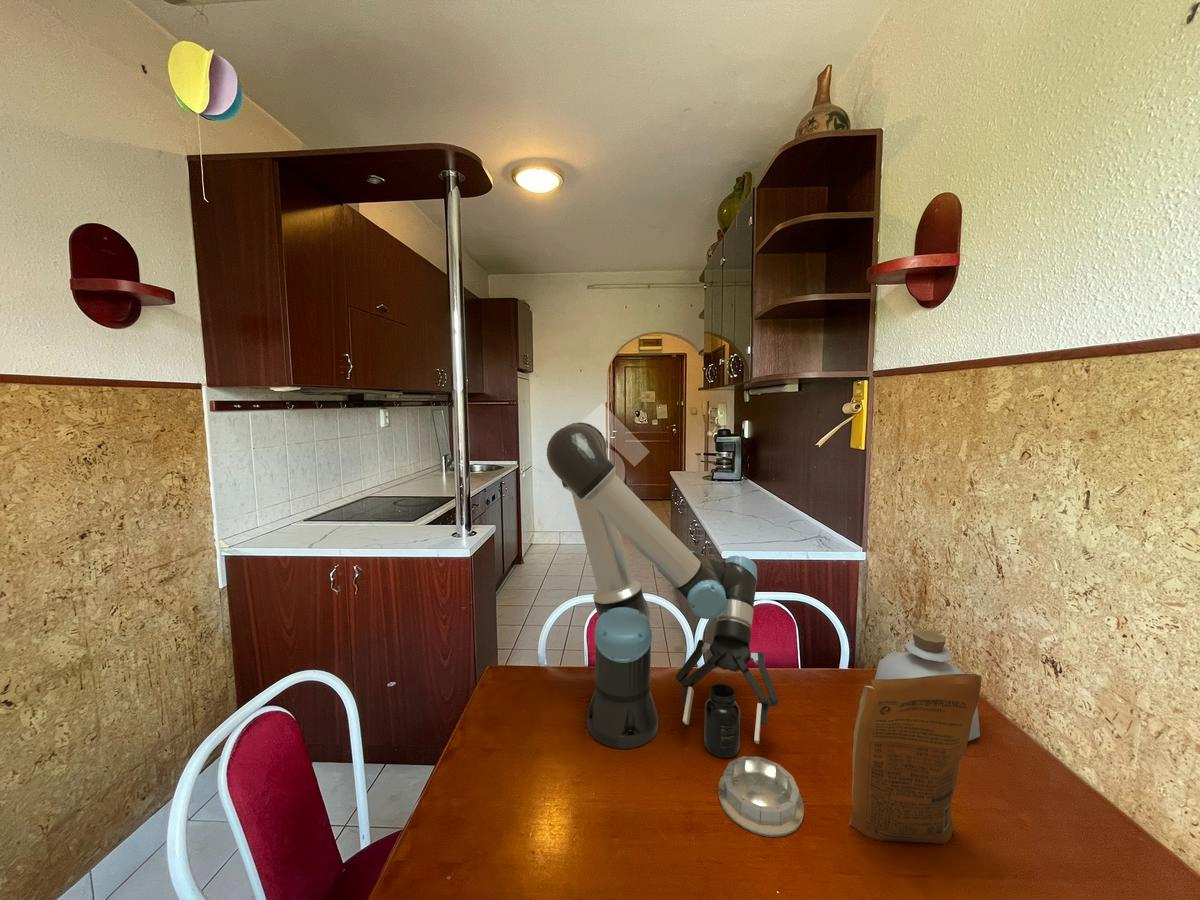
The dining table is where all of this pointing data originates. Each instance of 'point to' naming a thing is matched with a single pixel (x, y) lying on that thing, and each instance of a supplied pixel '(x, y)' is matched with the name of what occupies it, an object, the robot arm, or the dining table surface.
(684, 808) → the dining table surface
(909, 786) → the pancake mix bag
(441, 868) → the dining table surface
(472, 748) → the dining table surface
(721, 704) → the supplement bottle
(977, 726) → the bottle
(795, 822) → the silver bowl
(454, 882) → the dining table surface
